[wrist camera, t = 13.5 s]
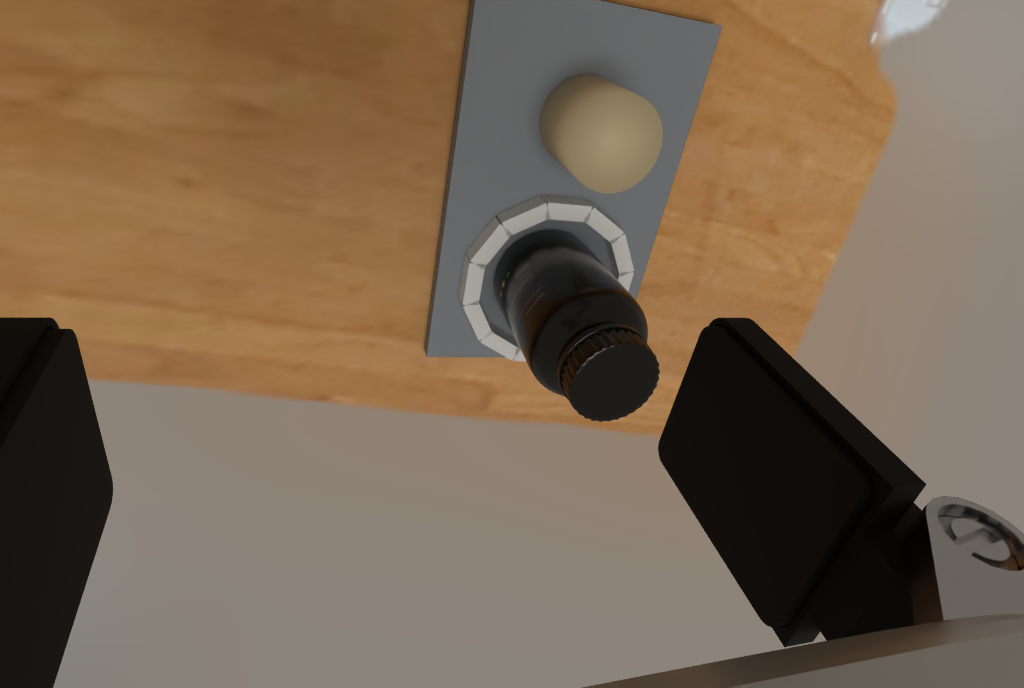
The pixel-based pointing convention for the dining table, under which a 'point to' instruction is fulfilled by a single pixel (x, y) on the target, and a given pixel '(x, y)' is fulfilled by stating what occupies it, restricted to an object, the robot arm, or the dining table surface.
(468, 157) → the board
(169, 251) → the dining table surface
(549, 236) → the supplement bottle
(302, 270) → the dining table surface
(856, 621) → the robot arm
